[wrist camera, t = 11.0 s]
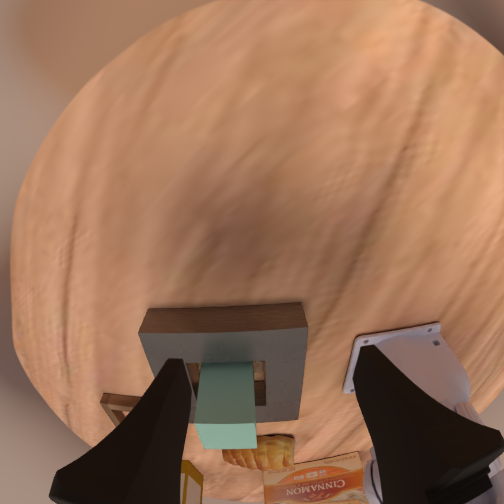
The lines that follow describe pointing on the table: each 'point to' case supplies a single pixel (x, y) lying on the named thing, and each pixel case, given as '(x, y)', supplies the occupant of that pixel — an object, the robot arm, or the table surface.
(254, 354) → the socket block
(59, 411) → the table surface
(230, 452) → the pastry
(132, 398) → the stand frame
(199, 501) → the soap bottle
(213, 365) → the teal peg
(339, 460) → the coffeecake box
